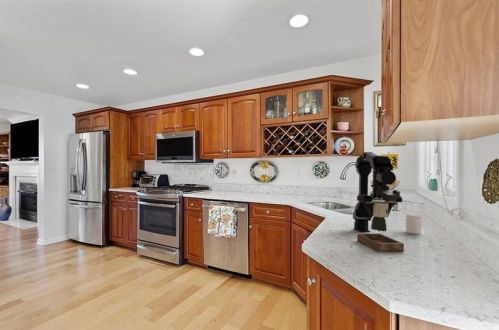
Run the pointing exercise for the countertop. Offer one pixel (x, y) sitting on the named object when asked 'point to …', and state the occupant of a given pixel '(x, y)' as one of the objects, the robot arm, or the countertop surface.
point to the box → (380, 242)
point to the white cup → (413, 223)
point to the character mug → (379, 216)
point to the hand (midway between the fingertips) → (378, 217)
